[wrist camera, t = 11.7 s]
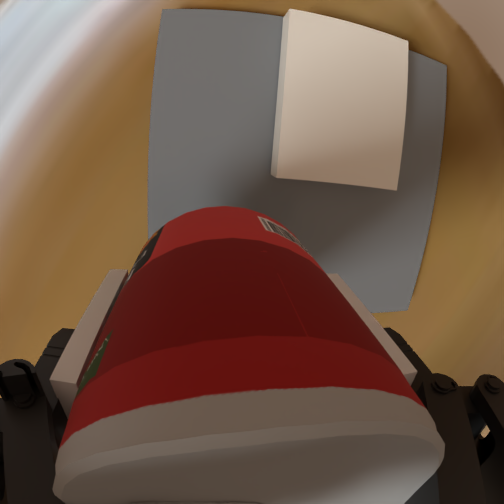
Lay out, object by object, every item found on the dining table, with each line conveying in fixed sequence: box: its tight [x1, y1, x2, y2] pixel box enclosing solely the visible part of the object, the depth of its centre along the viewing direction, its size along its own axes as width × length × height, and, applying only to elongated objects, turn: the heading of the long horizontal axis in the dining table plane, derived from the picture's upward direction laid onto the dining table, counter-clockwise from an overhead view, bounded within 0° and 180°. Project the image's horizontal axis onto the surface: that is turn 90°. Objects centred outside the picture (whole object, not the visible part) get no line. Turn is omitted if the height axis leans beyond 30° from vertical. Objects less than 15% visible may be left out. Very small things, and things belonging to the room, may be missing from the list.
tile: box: [271, 9, 408, 191], centre depth 15 cm, size 2×7×9 cm
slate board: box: [148, 9, 447, 313], centre depth 18 cm, size 18×18×1 cm
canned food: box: [52, 206, 445, 504], centre depth 9 cm, size 8×8×11 cm
